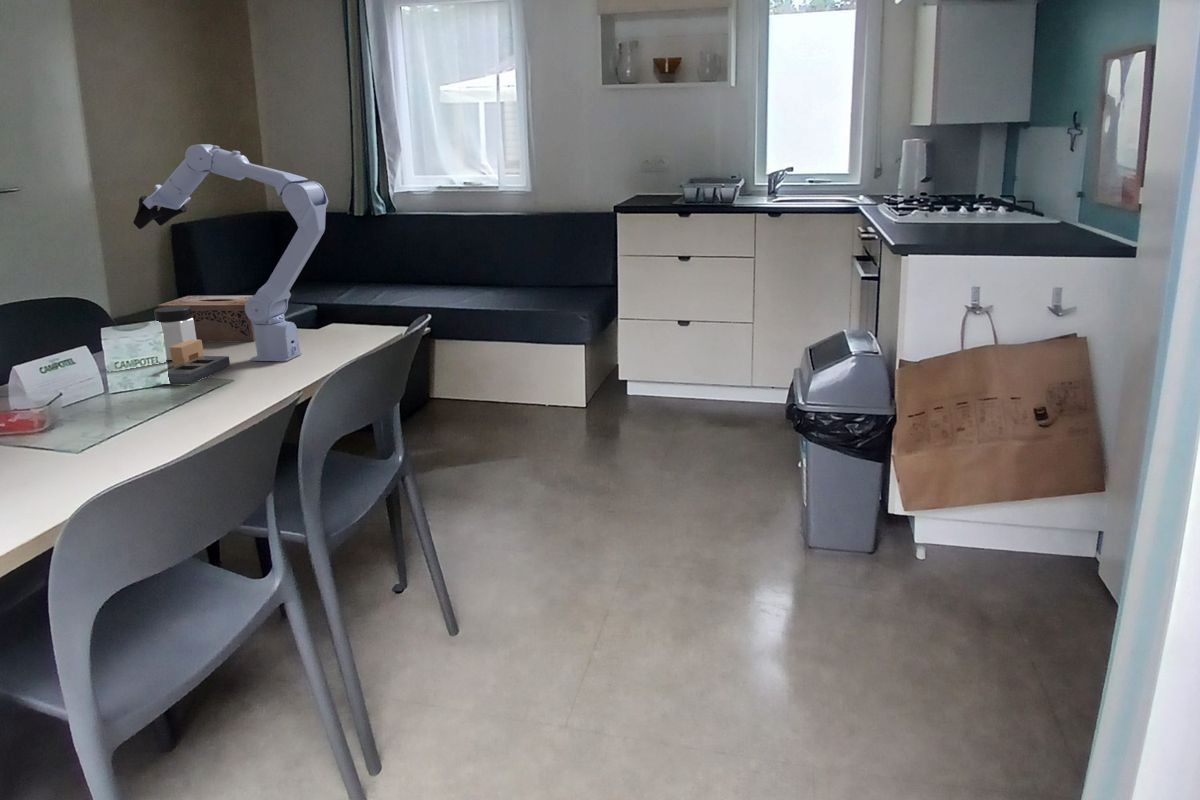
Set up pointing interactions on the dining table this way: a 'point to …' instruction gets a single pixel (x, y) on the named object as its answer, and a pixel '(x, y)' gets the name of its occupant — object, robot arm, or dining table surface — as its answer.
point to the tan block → (186, 351)
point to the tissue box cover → (218, 317)
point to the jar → (176, 325)
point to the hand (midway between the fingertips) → (147, 224)
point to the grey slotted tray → (197, 369)
